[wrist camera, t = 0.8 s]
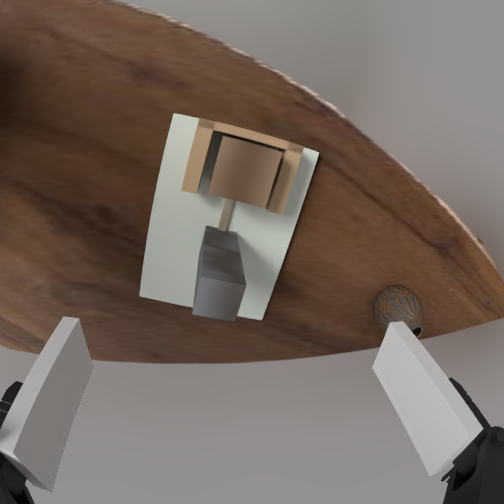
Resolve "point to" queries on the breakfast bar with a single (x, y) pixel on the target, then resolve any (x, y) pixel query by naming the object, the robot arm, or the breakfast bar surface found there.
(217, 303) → the tether block
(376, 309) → the vase
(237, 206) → the white board with bracket
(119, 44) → the breakfast bar surface
